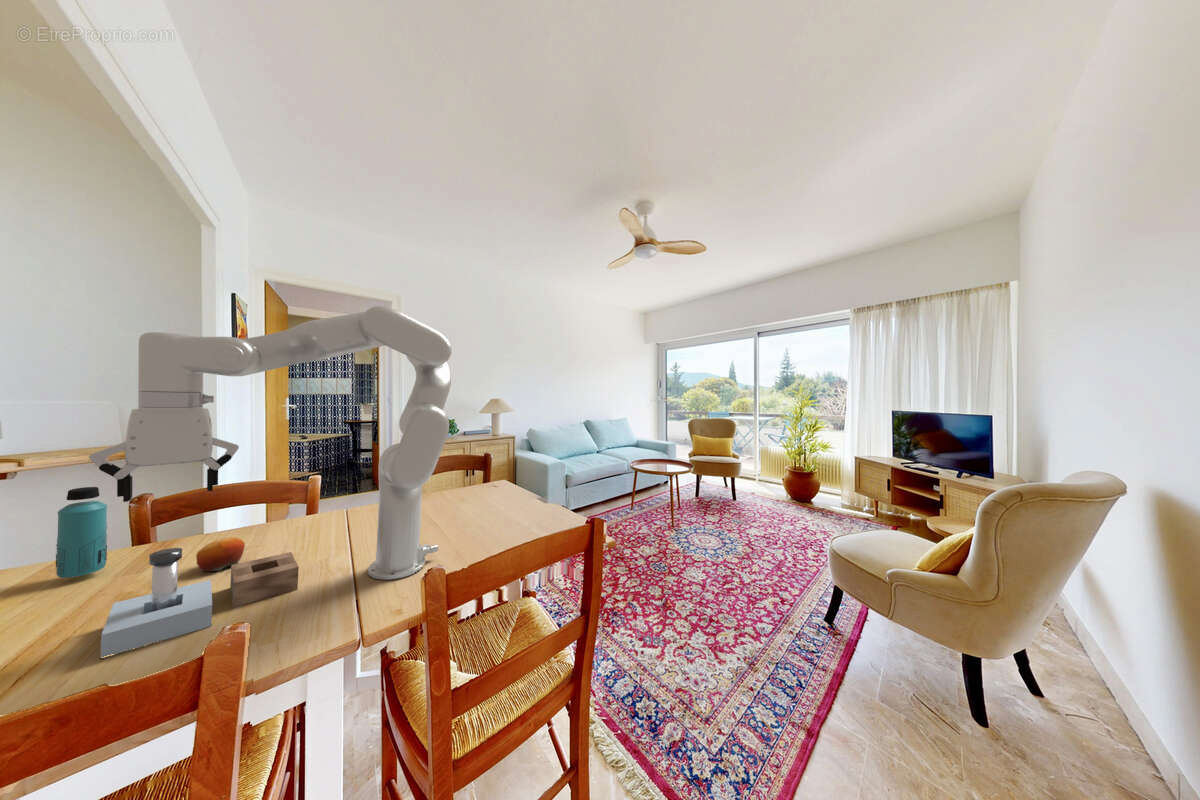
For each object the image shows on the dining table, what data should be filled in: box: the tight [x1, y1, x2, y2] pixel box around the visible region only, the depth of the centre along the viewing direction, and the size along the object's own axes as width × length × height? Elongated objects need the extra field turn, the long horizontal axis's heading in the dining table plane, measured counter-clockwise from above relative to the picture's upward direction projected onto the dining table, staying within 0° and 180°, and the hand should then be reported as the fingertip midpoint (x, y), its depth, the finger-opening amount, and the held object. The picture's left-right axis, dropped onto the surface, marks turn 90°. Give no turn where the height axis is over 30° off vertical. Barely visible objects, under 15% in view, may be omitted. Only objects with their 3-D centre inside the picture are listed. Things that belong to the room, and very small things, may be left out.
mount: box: [229, 551, 299, 609], centre depth 78 cm, size 10×10×5 cm
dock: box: [99, 579, 213, 658], centre depth 65 cm, size 12×12×4 cm
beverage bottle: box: [54, 486, 108, 579], centre depth 79 cm, size 6×7×20 cm
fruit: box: [196, 536, 246, 572], centre depth 87 cm, size 8×8×8 cm
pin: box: [148, 547, 183, 612], centre depth 65 cm, size 4×4×14 cm
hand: (171, 494), depth 65 cm, fingers open, 9 cm apart
